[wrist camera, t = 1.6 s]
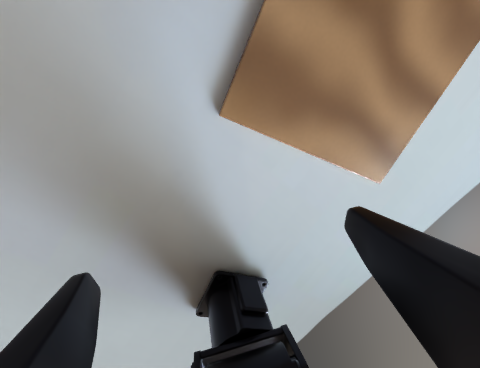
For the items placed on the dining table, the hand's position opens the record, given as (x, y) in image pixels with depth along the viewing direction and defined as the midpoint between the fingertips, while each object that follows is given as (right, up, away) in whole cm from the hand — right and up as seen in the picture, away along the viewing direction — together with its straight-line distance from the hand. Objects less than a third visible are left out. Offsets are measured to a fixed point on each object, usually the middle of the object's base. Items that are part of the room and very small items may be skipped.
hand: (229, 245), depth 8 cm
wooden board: (+11, +13, +10) cm, 20 cm away
